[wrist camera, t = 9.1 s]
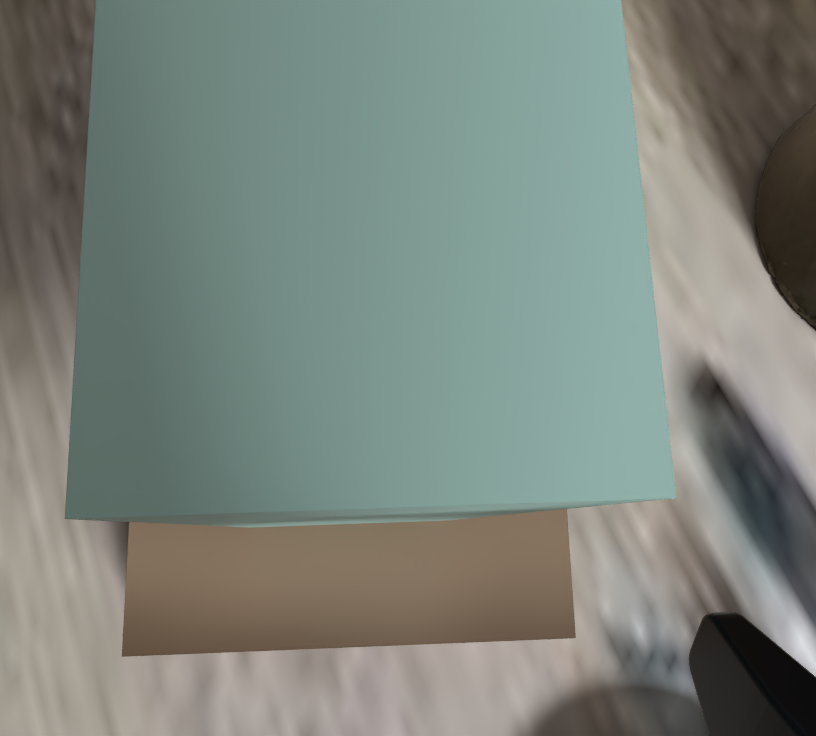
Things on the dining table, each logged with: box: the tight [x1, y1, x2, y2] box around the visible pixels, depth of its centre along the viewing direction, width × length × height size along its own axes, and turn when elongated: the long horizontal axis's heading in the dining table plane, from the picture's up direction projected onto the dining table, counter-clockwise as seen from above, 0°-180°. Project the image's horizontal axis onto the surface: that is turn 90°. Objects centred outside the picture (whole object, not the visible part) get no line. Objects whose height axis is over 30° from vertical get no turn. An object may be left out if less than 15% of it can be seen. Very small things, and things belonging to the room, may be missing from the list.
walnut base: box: [122, 509, 576, 657], centre depth 21 cm, size 11×11×3 cm
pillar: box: [65, 0, 676, 527], centre depth 13 cm, size 5×5×13 cm
